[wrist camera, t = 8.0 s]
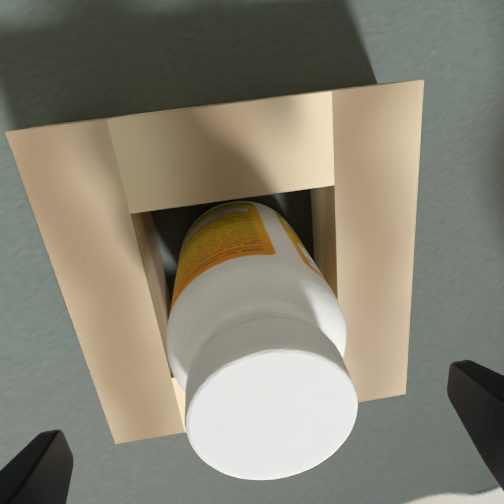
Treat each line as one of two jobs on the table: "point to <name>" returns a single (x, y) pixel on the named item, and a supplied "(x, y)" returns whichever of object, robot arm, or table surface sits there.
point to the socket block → (220, 189)
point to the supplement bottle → (257, 346)
